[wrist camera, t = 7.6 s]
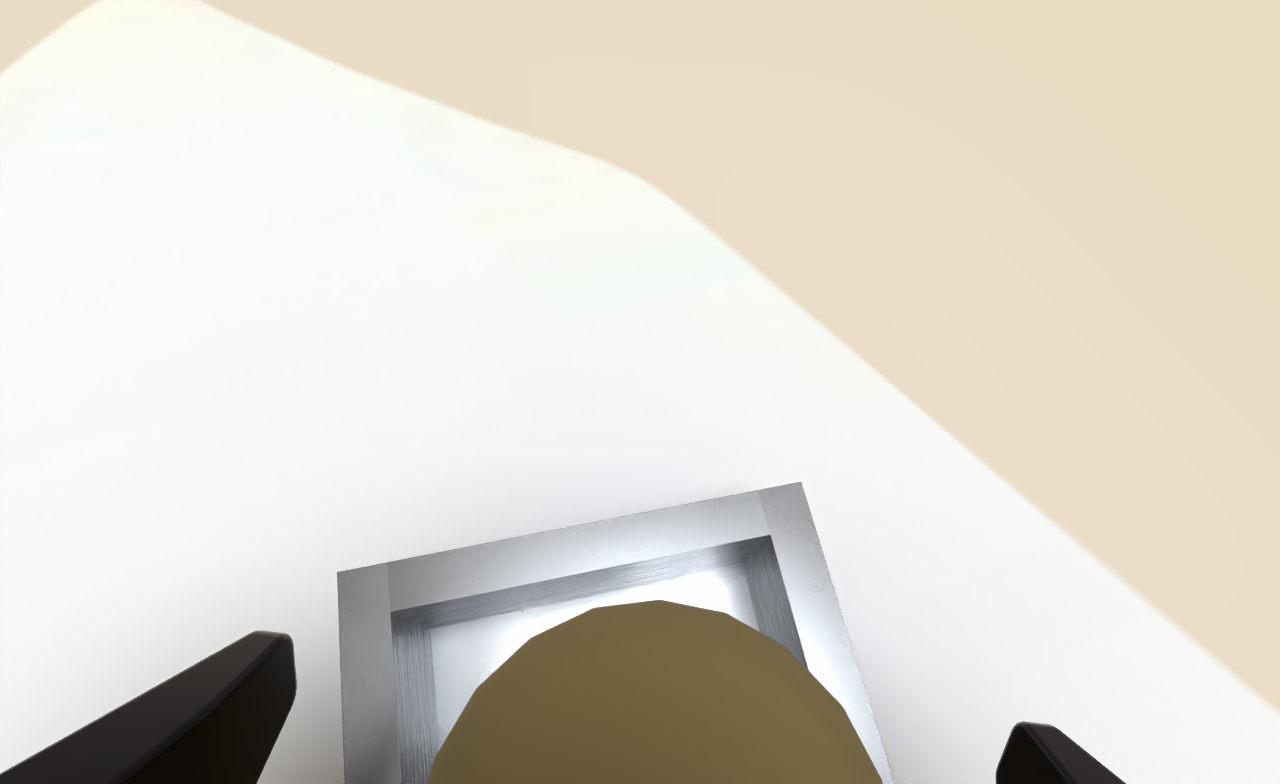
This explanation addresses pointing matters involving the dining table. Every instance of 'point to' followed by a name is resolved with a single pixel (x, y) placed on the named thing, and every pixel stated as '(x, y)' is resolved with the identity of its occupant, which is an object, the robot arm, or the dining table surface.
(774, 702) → the cork
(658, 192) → the dining table surface
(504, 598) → the square metal tray
